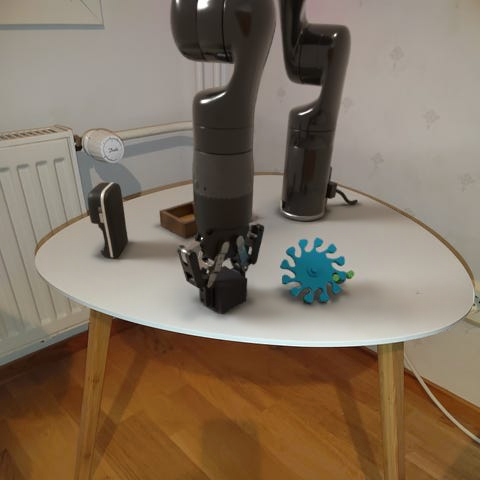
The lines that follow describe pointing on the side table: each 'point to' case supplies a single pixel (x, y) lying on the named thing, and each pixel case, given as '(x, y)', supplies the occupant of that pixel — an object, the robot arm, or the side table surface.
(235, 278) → the black block
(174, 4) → the robot arm
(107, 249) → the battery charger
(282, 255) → the side table surface
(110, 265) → the side table surface
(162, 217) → the wooden divided tray
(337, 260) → the gear
